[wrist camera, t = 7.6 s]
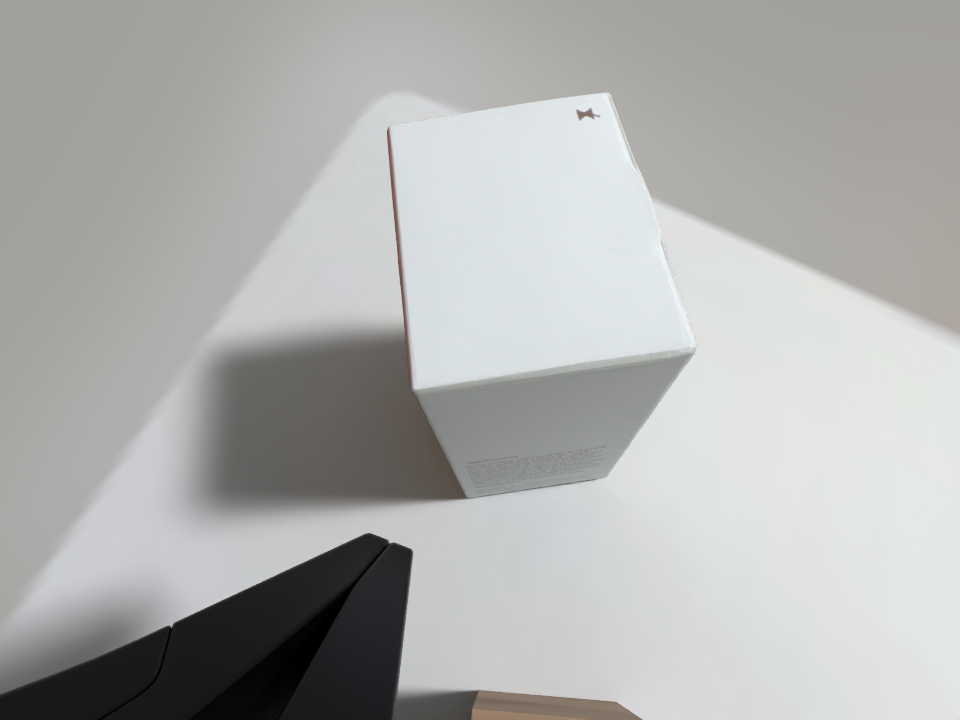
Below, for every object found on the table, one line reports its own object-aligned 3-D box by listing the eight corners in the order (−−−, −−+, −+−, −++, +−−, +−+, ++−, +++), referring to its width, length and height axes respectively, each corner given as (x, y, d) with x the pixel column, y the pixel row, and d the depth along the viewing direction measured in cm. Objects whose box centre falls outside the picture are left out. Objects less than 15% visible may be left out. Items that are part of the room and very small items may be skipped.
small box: (443, 337, 26) (382, 118, 14) (570, 318, 26) (614, 82, 14) (463, 503, 23) (406, 394, 11) (610, 481, 23) (711, 347, 11)
